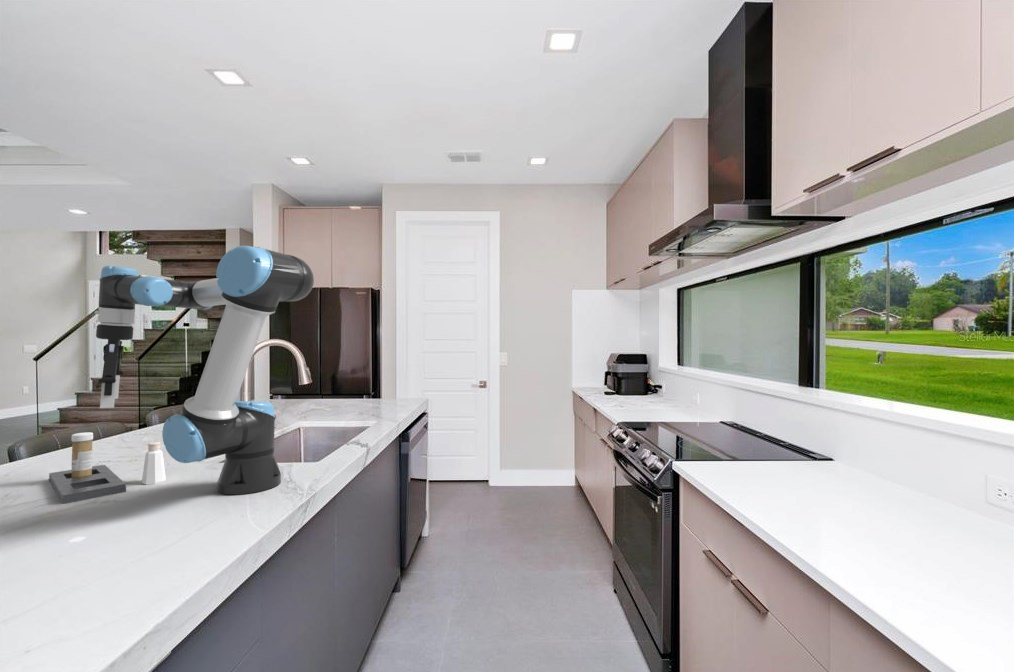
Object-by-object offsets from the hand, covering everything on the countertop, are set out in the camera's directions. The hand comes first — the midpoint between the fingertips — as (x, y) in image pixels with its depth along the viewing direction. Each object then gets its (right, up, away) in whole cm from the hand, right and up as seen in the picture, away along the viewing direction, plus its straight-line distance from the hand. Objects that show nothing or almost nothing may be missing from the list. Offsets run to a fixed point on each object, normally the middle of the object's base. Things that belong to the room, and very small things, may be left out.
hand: (109, 403), depth 123 cm
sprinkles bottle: (-14, -23, +7) cm, 28 cm away
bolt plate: (-8, -23, +2) cm, 25 cm away
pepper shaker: (+8, -23, +6) cm, 25 cm away
